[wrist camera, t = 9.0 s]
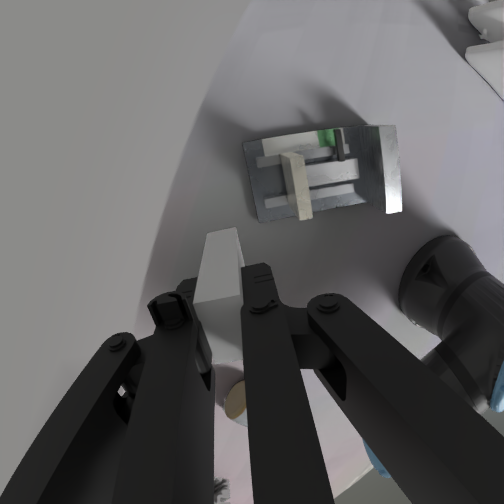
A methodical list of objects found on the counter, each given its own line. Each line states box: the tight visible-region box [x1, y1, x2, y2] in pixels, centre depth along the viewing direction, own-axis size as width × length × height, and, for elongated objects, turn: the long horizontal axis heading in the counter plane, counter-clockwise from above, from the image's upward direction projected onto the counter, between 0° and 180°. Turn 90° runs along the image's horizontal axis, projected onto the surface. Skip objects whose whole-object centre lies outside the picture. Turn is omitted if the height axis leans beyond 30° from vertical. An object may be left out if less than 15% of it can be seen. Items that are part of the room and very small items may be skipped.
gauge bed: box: [242, 125, 402, 223], centre depth 29 cm, size 15×9×6 cm, turn 101°
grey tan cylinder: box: [223, 380, 248, 427], centre depth 42 cm, size 11×8×8 cm
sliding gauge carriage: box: [280, 129, 359, 221], centre depth 27 cm, size 8×7×6 cm
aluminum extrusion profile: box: [214, 477, 231, 504], centre depth 60 cm, size 14×31×10 cm, turn 152°
